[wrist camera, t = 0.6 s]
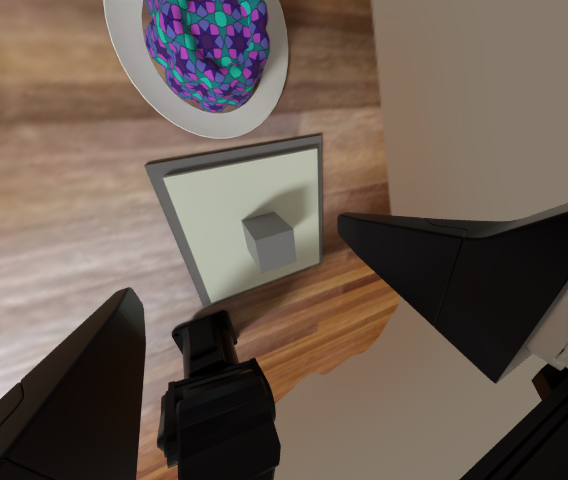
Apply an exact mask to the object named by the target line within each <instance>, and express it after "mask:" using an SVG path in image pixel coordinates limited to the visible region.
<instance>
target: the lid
mask: <svg viewBox="0 0 568 480" xmlns="http://www.w3.org/2000/svg"><path fill="white" fill-rule="evenodd" d="M163 180H164V182H165V185H166V187H167V190H168V193H169V195H170V198H171V200H172V203H173V205H174V208H175V211H176V213H177V216H178V218H179V221H180V223H181V226H182V229H183V231H184V234H185V236H186V239H187V241H188V244H189V247H190V249H191V252H192V254H193V257H194V259H195V262H196V265H197V267H198V270H199V272H200V275H201V278H202V280H203V283H204V285H205V288H206V290H207V293H208V296H209V298H210V301H211V303H213V302H216V301H218V300H221V299H224V298H226V297H229V296H232V295H234V294H237V293H240V292H242V291H245V290H248V289H250V288H253V287H256V286H258V285H261V284H264V283H266V282H269V281H272V280H274V279H277V278H280V277H282V276H285V275H288V274H290V273H293V272H296V271H299V270H301V269H304V268H307V267H309V266H312V265H315V264H317V263H319V215H318V160H317V148H309V149H304V150H299V151H293V152H288V153H283V154H277V155H272V156H267V157H261V158H256V159H251V160H245V161H240V162H235V163H230V164H224V165H219V166H214V167H208V168H203V169H198V170H192V171H187V172H182V173H176V174H171V175H166V176H163Z"/></svg>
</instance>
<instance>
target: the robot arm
mask: <svg viewBox="0 0 568 480" xmlns="http://www.w3.org/2000/svg"><path fill="white" fill-rule="evenodd" d="M337 225H338V233H339V235H340V236H341V237H342V239H343V240H344V241H345V242H346V243H347V244H348V245H349V247H350V248H351V249H352V250H353V251H354V252H355V253H356V255H357V256H358V257H359V258H360V259H361V260H363V261H364V262H365V263H366V264H367V265H368V266H369V267H370V268H371V269H372V270H373V271H374V272H375V273H377V274H378V275H379V276H380V277H381V278H382V279H383V280H384V281H385V282H386V283H387V284H388V285H389V286H390V287H392V288H393V289H394V290H395V291H396V292H397V293H398V294H399V295H400V296H401V297H402V298H403V299H404V300H405V301H407V302H408V303H409V304H410V305H411V306H412V307H413V308H414V309H415V310H416V311H417V312H418V313H419V314H420V315H422V316H423V317H424V318H425V319H426V320H427V321H428V322H429V323H430V324H431V325H432V326H434V327H435V329H436V330H438V332H440V333H441V334H442V335H443V336H444V337H445V338H446V339H447V340H448V341H449V342H450V343H451V344H452V345H454V346H455V347H456V348H457V349H458V350H459V351H460V352H461V353H462V354H463V355H464V356H465V357H466V358H467V359H468V360H470V361H471V362H472V363H473V364H474V365H475V366H476V367H477V368H478V369H479V370H480V371H481V372H482V373H484V374H485V375H486V376H487V377H488V378H489V379H490V380H491V381H493V382H494V383H498V382H499V381H500V380H501V379H503V378H504V377H505V376H506V375H507V374H509V373H510V372H511V371H512V370H513V369H515V368H516V367H517V366H518V365H520V364H521V363H522V362H523V361H524V360H525V359H527V358H528V357H529V356H530V355H532V354H535V355H536V356H538V357H539V358H541V359H543V360H544V361H546V362H547V363H548V364H547V365H545V366H544V367H543V368H542V369H541V370H540V371H539V372H538V373H537V374H536V376H535V377H534V378H533V379H532V382H533V384H534V386H535V388H536V390H537V392H538V394H539V396H540V398H541V399H542V401H541V402H540V403H539V404H538V405H537V406H536V407H535V408H534V409H533V410H532V411H531V412H530V413H529V414H528V415H527V416H525V418H523V419H522V421H520V422H519V423H518V424H517V425H516V426H515V427H514V428H513V429H512V430H511V431H510V432H509V433H508V434H507V435H506V436H505V437H504V438H502V439H501V440H500V441H499V442H498V443H497V444H496V445H495V446H494V447H493V448H492V449H491V450H490V451H489V452H488V453H487V454H486V455H485V456H484V457H483V458H482V459H481V460H479V461H478V462H477V463H476V464H475V465H474V466H473V467H472V468H471V469H470V470H469V471H468V472H467V473H466V474H465V475H464V476H463V477H462V478H461V479H460V480H568V203H567V204H564V205H560V206H558V207H555V208H552V209H549V210H546V211H543V212H540V213H537V214H535V215H532V216H529V217H526V218H523V219H519V220H513V221H503V222H502V221H471V220H447V219H432V218H418V217H404V216H391V215H377V214H363V213H350V212H345V213H342V214H339V215H338V218H337ZM224 314H225V315H224ZM176 333H178V334H176ZM172 338H173V339H174V341H175V343H176V344H177V346H178V348H179V349H180V351H181V353H182V354H183V365H184V379H183V380H180V381H176V382H175V381H173V382H169V384H168V391H166V394H165V395H164V396H162V399H161V417H160V424H159V431H158V437H157V447H158V448H159V449H161V450H162V451H163V452H164V455H165V458H167V466H168V469H169V468H171V467H173V466H176V465H178V480H273V479H274V472H275V467H276V466H278V465H279V461H280V449H281V446H280V442H279V438H278V435H277V432H276V429H275V425H274V421H275V417H276V412H275V403H274V398H273V394H272V391H271V388H270V385H269V383H268V381H267V379H266V377H265V376H264V374H263V372H262V370H261V368H260V366H259V365H258V363H257V361H256V359H255V358H252V359H250V360H249V361H245V362H242V363H239V361H238V358H237V354H236V350H235V347H234V345H236V344H237V338H236V335H235V333H234V330H233V327H232V324H231V321H230V318H229V315H228V312H227V311H221V312H218V313H216V314H213V315H211V316H208V317H206V318H203V319H201V320H198V321H195V322H193V323H190V324H188V325H185V326H183V327H180V328H178V329H175V330H173V331H172ZM145 352H146V336H145V321H144V308H143V304H142V302H141V301H140V299H139V298H138V296H137V295H136V293H135V292H134V290H133V289H132V288H130V287H128V288H125V289H122V290H119V291H117V292H116V293H114V294H113V295H112V296H111V297H110V298H109V299H108V300H107V301H106V302H105V303H104V304H103V305H102V306H100V307H99V308H98V309H97V310H96V311H95V312H94V313H93V314H92V315H91V316H90V317H89V318H87V319H86V320H85V321H84V322H83V323H82V324H81V325H80V326H79V327H78V328H77V329H76V330H75V331H73V332H72V333H71V334H70V335H69V336H68V337H67V338H66V339H65V340H64V341H63V342H62V343H60V344H59V345H58V346H57V347H56V348H55V349H54V350H53V351H52V352H51V353H50V354H49V355H48V356H46V357H45V358H44V359H43V360H42V361H41V362H40V363H39V364H38V365H37V366H36V367H35V368H33V369H32V370H31V371H30V372H29V373H28V374H27V375H26V376H25V377H24V378H23V379H22V380H21V382H19V383H17V384H16V385H15V386H14V387H13V388H12V389H11V390H10V391H9V392H7V393H6V394H5V395H4V396H3V397H2V398H1V399H0V480H136V473H137V459H138V446H139V433H140V419H141V406H142V392H143V379H144V365H145Z"/></svg>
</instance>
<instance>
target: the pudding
mask: <svg viewBox="0 0 568 480" xmlns="http://www.w3.org/2000/svg"><path fill="white" fill-rule="evenodd" d="M103 3H104V12H105V19H106V23H107V27H108V30H109V34H110V38H111V41H112V44H113V46H114V49H115V51H116V53H117V56H118V58H119V60H120V63H121V65H122V66H123V68H124V70H125V71H126V73H127V75H128V77H129V78H130V80H131V82H132V83H133V84H134V86H135V87H136V88H137V90H138V91H139V92H140V93H141V95H142V96H143V97H144V99H145V100H146V101H147V102H148V103H149V104H150V105H151V106H152V107H153V108H154V109H155V110H156V111H157V112H158V113H160V114H161V115H162V116H164V117H165V118H166V119H168V120H169V121H170V122H172V123H173V124H175V125H177V126H179V127H180V128H182V129H184V130H186V131H188V132H191V133H194V134H196V135H199V136H203V137H209V138H214V139H217V138H232V137H237V136H240V135H243V134H245V133H248V132H250V131H251V130H253V129H254V128H256V127H257V126H259V125H260V124H261V123H262V122H263V121H264V120H265V119H266V118H267V117H268V116H269V115H270V113H271V112H272V110H273V109H274V107H275V106H276V104H277V102H278V100H279V98H280V96H281V93H282V90H283V87H284V83H285V80H286V74H287V67H288V39H287V29H286V25H285V20H284V15H283V11H282V8H281V5H280V2H279V0H146V1H145V3H146V6H147V8H148V11H149V14H150V16H151V19H152V20H151V22H150V23H149V25H148V26H147V28H146V29H145V37H146V45H147V47H148V49H149V51H150V54H151V56H152V58H153V59H154V60H155V61H157V62H158V63H159V64H160V65H161V66H163V67H164V68H165V74H166V81H167V83H168V84H169V86H170V87H171V88H172V90H173V91H174V92H175V93H176V94H178V95H179V96H180V97H182V98H183V99H196V101H197V102H198V103H199V104H200V106H201V107H202V108H203V109H204V110H207V111H210V112H222V110H223V109H224V108H225V107H226V106H227V105H228V104H229V105H232V106H235V107H239V106H241V105H243V104H245V103H246V102H247V100H248V99H249V98H250V97H251V94H252V91H253V89H254V86H255V84H256V82H258V81H259V80H260V77H261V75H262V77H261V81H260V84H259V86H258V88H257V90H256V92H255V93H254V95H253V96H252V98H251V99H250V100H249V101H248V102H247V103H246V104H245V105H243V106H242V107H240V108H239V109H237V110H234V111H232V112H228V113H222V114H219V113H209V112H204V111H201V110H199V109H197V108H194V107H192V106H191V105H189V104H187V103H186V102H184V101H183V100H182V99H180V98H179V97H178V96H177V95H176V94H174V93H173V92H172V90H171V89H170V88H169V87H168V86H167V85H166V84H165V83H164V81H163V80H162V78H161V77H160V75H159V74H158V72H157V71H156V69H155V67H154V65H153V63H152V61H151V59H150V56H149V54H148V51H147V48H146V45H145V41H144V36H143V31H142V17H141V14H142V4H143V0H103ZM262 72H263V74H262Z"/></svg>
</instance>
